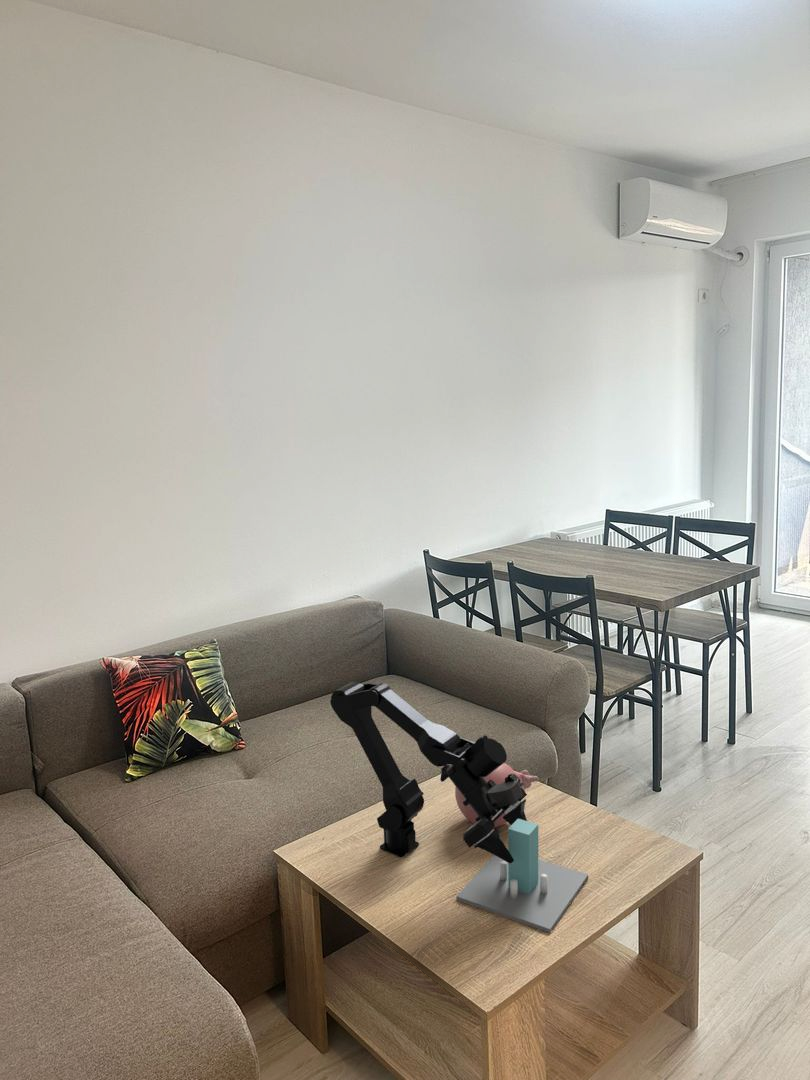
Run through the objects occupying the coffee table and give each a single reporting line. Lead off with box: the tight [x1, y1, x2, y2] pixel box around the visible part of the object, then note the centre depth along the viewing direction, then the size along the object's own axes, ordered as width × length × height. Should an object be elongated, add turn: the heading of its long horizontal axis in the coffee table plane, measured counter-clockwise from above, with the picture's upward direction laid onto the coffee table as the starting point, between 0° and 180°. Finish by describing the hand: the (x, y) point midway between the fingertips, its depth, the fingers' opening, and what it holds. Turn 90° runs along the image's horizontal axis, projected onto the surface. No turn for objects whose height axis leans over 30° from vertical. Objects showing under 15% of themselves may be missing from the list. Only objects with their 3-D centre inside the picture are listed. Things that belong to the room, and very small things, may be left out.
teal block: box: [507, 819, 539, 894], centre depth 167 cm, size 4×4×13 cm
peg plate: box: [455, 855, 589, 934], centre depth 168 cm, size 20×20×4 cm
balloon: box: [454, 762, 540, 828], centre depth 192 cm, size 15×20×15 cm
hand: (522, 850), depth 167 cm, fingers open, 9 cm apart
